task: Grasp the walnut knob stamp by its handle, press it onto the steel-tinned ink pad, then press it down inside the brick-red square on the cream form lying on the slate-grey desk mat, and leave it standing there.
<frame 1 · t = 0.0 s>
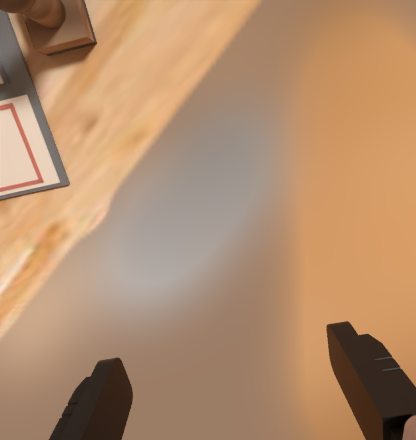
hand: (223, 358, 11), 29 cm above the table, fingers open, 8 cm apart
stamp: (63, 20, 33), on the table
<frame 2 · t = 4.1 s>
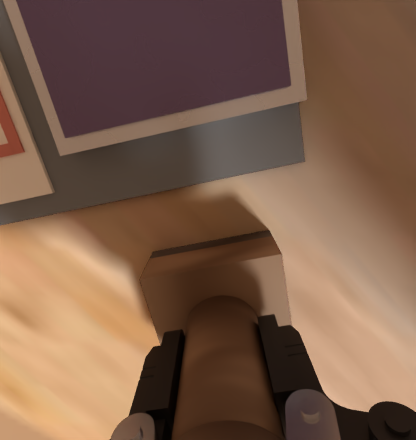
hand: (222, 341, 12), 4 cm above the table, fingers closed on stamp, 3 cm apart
stamp: (221, 291, 16), on the table, touching gripper
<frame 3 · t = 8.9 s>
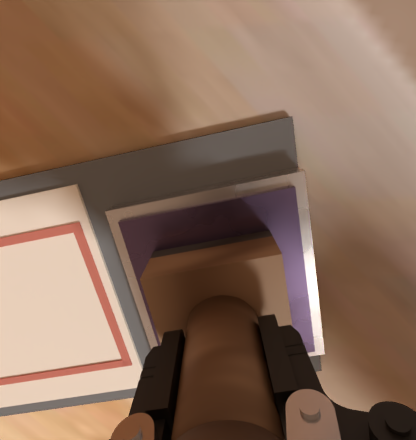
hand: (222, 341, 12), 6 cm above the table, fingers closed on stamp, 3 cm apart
ink pad: (222, 274, 17), resting on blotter
stamp: (221, 291, 16), point 2 cm above the table, touching gripper, ink pad
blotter: (119, 292, 18), on the table
when the fingers open (4 cm above the table, at t = 14.1 s): stamp stays where it is, resting on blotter.
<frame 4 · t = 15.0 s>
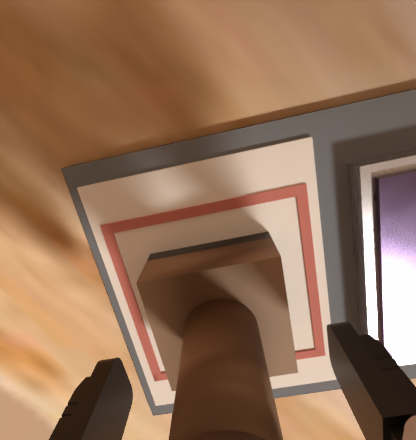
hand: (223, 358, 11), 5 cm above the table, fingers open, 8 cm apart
stamp: (220, 294, 15), point 1 cm above the table, touching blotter
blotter: (321, 270, 15), on the table
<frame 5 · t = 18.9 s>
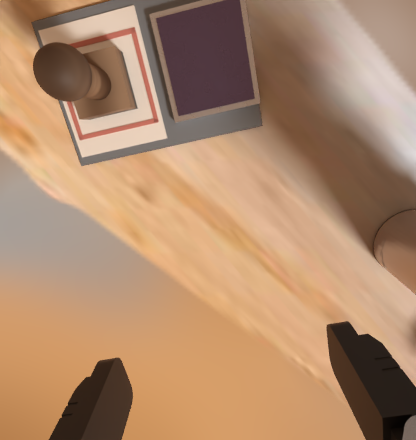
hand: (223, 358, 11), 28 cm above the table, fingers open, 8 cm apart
ink pad: (207, 63, 33), resting on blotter
stamp: (105, 87, 33), point 1 cm above the table, touching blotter
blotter: (152, 76, 34), on the table
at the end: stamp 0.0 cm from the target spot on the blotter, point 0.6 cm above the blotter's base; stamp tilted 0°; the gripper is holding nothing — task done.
